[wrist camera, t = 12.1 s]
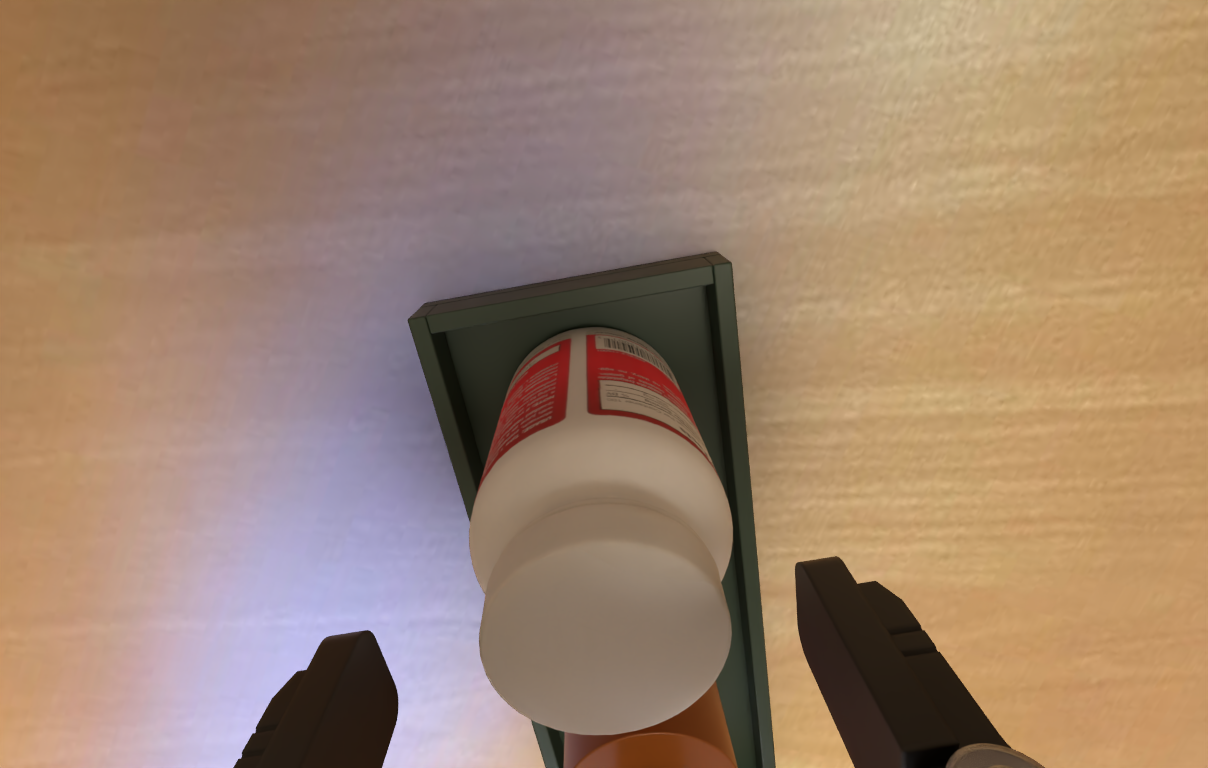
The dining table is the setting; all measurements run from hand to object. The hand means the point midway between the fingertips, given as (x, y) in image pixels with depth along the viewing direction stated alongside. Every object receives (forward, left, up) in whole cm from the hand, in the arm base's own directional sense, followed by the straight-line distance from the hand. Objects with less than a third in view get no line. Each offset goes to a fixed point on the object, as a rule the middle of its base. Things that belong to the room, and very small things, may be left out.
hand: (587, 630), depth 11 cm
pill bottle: (0, 0, -11) cm, 11 cm away
